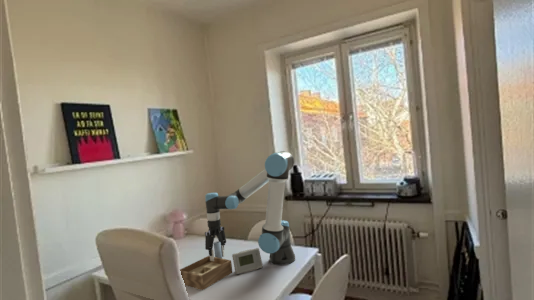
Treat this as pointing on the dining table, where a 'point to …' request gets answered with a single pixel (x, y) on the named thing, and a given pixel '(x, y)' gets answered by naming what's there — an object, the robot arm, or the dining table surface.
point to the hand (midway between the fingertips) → (217, 258)
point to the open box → (206, 272)
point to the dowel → (217, 249)
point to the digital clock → (247, 261)
